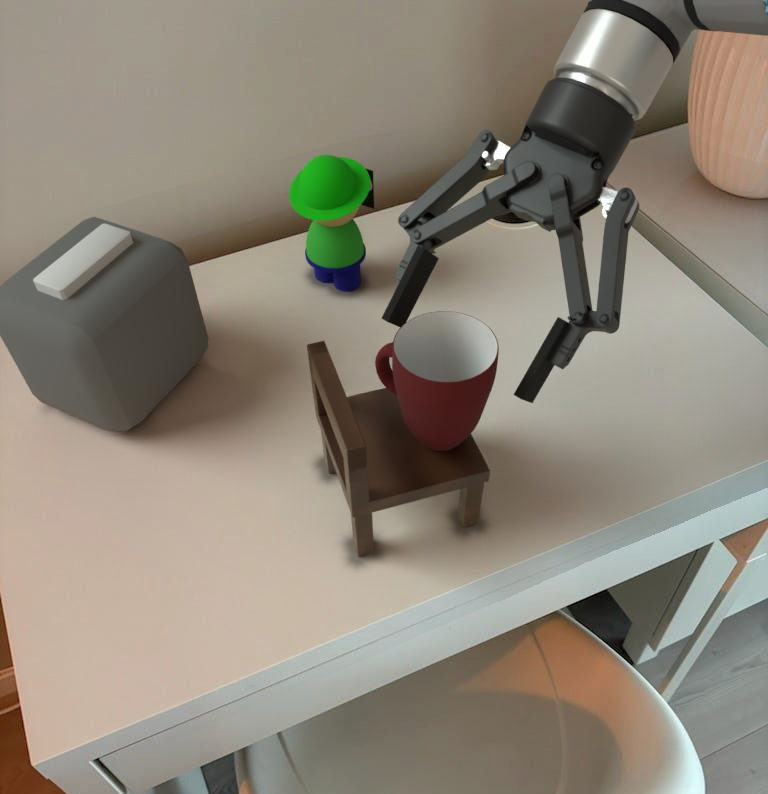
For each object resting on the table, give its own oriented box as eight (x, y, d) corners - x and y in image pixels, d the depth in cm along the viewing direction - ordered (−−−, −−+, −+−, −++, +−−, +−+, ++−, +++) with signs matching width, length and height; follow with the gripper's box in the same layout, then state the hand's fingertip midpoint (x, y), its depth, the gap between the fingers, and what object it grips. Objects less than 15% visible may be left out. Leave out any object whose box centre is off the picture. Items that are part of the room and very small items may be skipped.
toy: (386, 270, 91) (385, 149, 79) (348, 311, 86) (340, 189, 74) (325, 248, 94) (314, 128, 81) (285, 287, 89) (267, 166, 77)
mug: (350, 437, 64) (343, 349, 56) (396, 379, 69) (395, 289, 60) (461, 484, 61) (470, 397, 53) (502, 420, 65) (516, 330, 57)
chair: (437, 432, 75) (444, 313, 63) (481, 525, 69) (499, 412, 56) (321, 461, 73) (306, 344, 61) (356, 560, 67) (346, 450, 54)
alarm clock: (142, 321, 86) (98, 195, 73) (224, 351, 83) (192, 224, 70) (43, 414, 78) (-26, 290, 65) (129, 451, 74) (74, 328, 62)
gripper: (756, 179, 54) (596, 438, 59) (478, 75, 64) (365, 305, 69) (750, 135, 47) (571, 431, 53) (442, 26, 57) (320, 285, 63)
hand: (454, 360), depth 61 cm, fingers open, 13 cm apart
